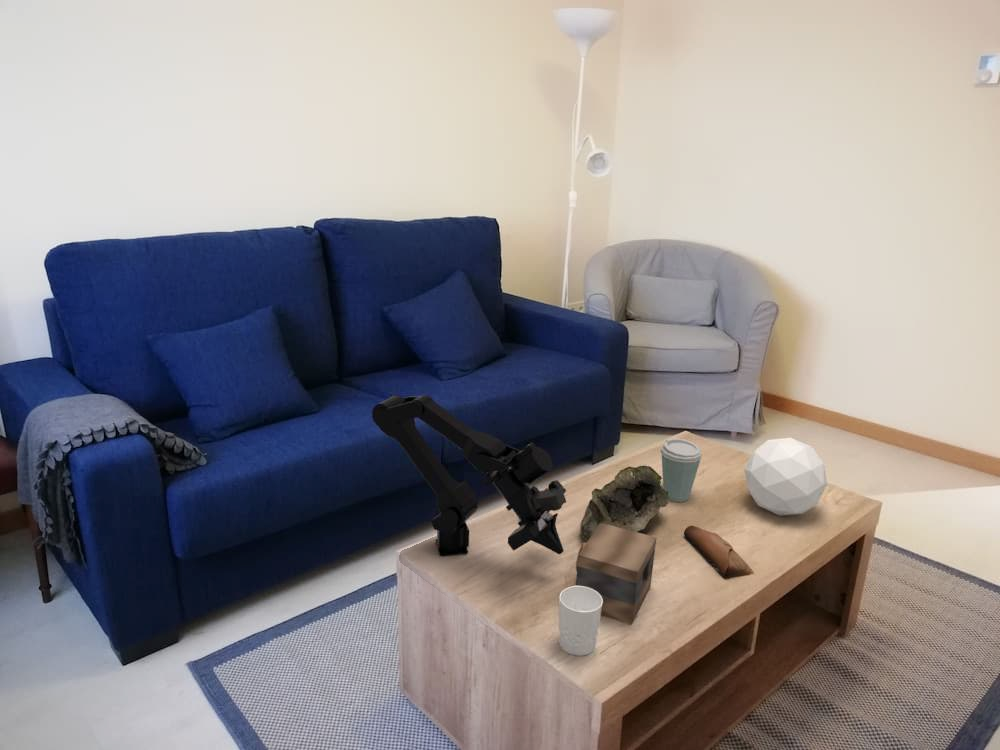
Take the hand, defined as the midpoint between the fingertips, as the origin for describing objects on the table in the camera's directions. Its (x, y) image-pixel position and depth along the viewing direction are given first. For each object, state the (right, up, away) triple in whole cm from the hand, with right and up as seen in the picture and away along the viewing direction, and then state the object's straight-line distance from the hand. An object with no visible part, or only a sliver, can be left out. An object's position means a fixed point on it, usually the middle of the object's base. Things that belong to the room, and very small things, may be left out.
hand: (561, 552), depth 153 cm
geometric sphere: (+59, +2, +36) cm, 69 cm away
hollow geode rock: (+17, 0, +24) cm, 30 cm away
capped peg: (+9, -5, -3) cm, 11 cm away
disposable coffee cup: (+33, +5, +40) cm, 52 cm away
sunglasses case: (+37, -4, +14) cm, 40 cm away
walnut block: (+10, -8, -3) cm, 14 cm away
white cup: (+2, -13, -17) cm, 21 cm away
